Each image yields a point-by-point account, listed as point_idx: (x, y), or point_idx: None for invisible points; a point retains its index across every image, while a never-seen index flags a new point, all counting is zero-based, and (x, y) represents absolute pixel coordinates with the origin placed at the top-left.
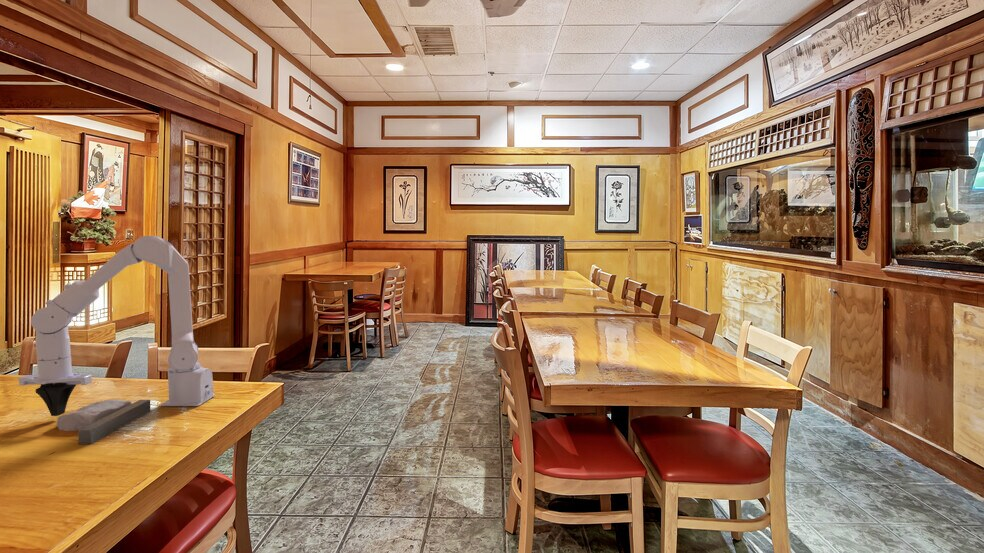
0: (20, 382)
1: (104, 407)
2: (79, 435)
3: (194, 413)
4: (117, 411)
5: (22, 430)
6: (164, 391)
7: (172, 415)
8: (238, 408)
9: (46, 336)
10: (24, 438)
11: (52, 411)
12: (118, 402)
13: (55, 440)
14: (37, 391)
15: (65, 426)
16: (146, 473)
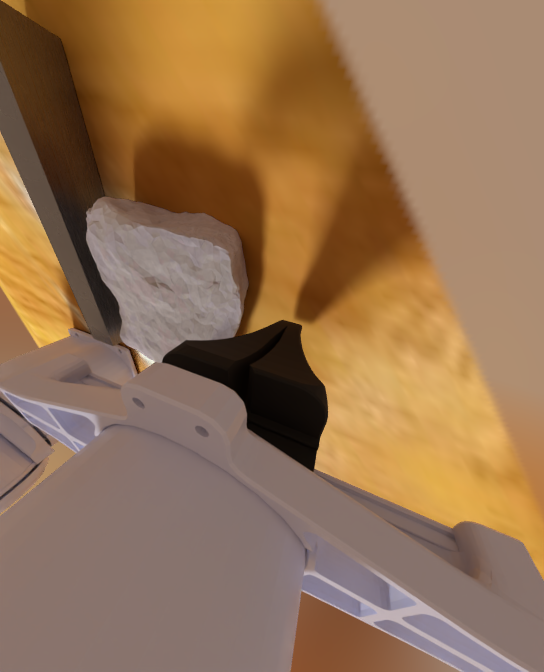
0: (530, 583)
1: (117, 288)
2: (4, 4)
3: (47, 289)
4: (73, 253)
5: (365, 244)
6: None
7: (69, 287)
8: (14, 297)
9: None
10: (301, 129)
11: (287, 325)
12: (137, 338)
13: (166, 94)
14: (306, 382)
15: (201, 218)
16: None
